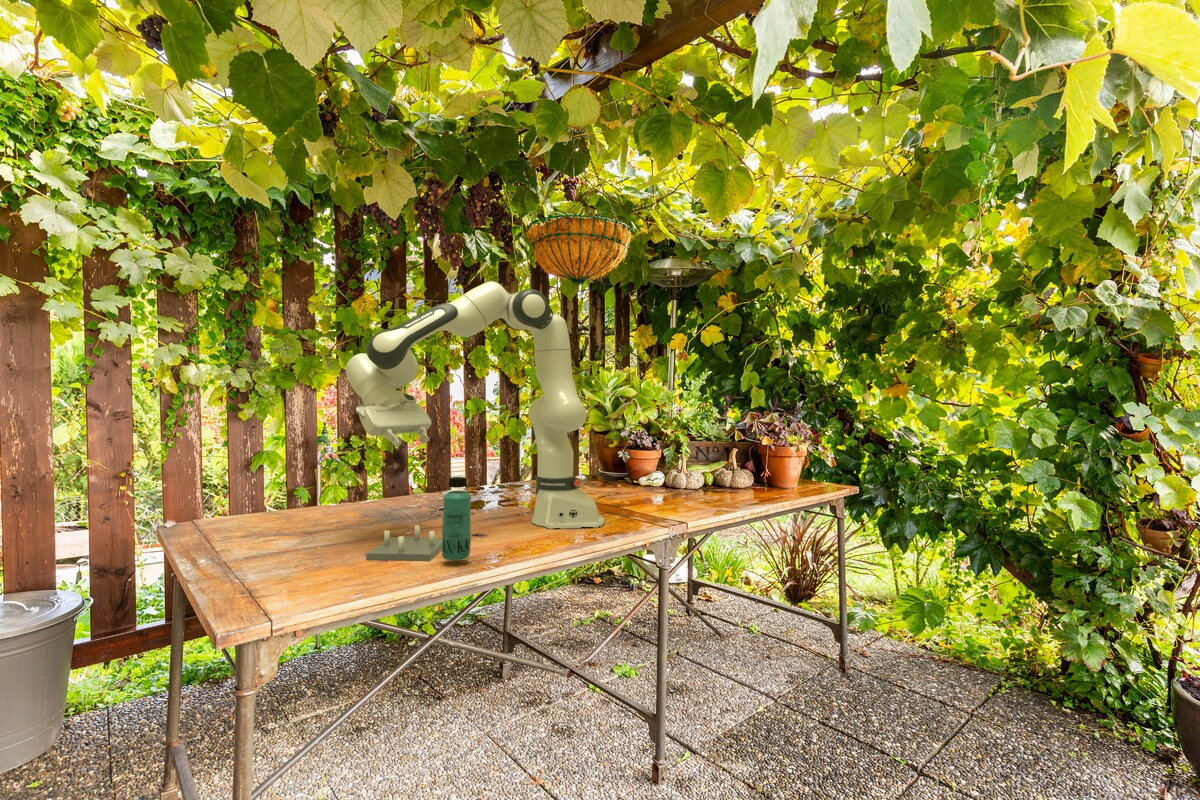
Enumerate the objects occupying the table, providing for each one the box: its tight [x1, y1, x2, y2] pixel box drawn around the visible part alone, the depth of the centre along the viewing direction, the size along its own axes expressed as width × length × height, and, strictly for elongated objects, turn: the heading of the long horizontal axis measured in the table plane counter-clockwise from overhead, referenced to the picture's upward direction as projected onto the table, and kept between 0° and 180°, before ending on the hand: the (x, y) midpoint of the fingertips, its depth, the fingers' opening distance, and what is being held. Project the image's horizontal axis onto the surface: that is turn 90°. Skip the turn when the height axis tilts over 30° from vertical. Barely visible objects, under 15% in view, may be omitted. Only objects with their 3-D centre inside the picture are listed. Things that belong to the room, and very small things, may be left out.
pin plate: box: [365, 524, 443, 562], centre depth 137 cm, size 15×15×5 cm
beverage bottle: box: [441, 476, 472, 561], centre depth 128 cm, size 6×7×20 cm
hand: (412, 443), depth 143 cm, fingers open, 8 cm apart
